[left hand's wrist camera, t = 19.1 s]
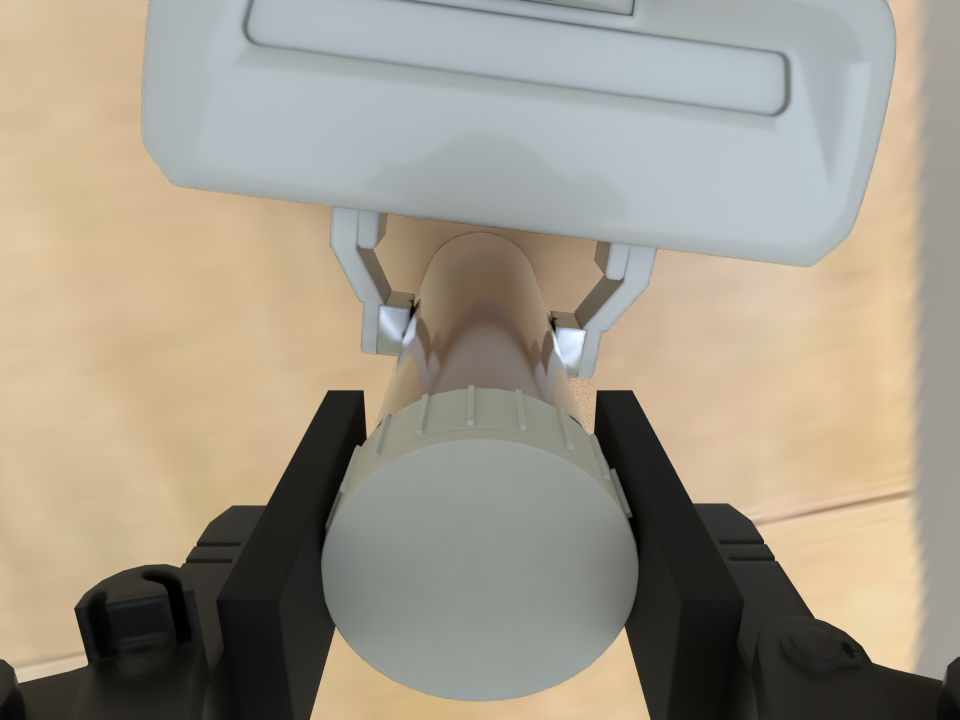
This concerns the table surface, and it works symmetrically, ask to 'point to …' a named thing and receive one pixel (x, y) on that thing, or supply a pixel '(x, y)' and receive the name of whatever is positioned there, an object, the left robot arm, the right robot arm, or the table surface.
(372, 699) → the table surface
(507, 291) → the jar
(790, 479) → the table surface
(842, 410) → the table surface
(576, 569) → the lid
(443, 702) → the table surface
